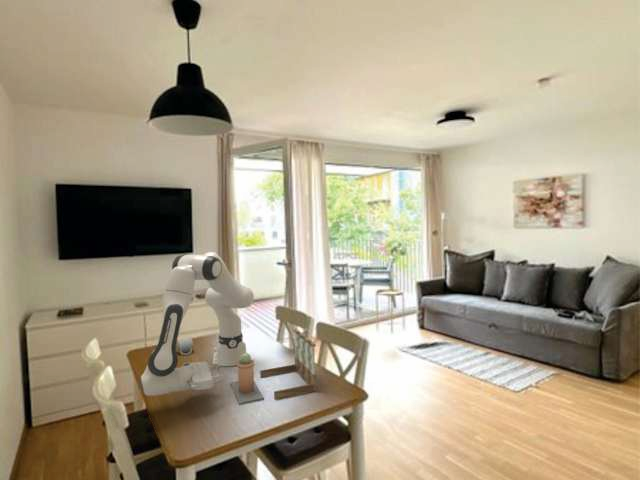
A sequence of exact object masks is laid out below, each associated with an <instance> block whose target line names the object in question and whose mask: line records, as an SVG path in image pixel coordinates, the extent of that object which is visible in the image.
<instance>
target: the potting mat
mask: <svg viewBox="0 0 640 480" xmlns="http://www.w3.org/2000/svg"><path fill="white" fill-rule="evenodd" d="M230 386H231V389H232V391H233V393H234V396H235V398H236V400H237V404H238V405H244V404H250V403H255V402H259V401H264V400H265V397H264V395H263V394H262V391H261V390H260V388H259V387H258V385H257V383H256V381H255V380H254V390H253V391H252V392H250V393H240V392H239V383H238V381H232V382H230Z"/></svg>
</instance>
